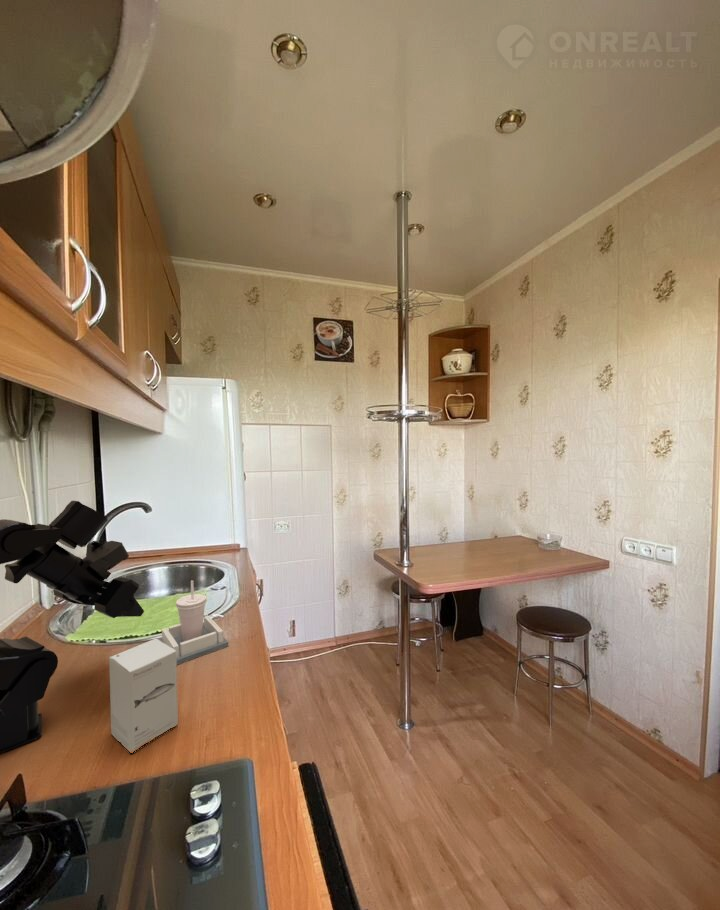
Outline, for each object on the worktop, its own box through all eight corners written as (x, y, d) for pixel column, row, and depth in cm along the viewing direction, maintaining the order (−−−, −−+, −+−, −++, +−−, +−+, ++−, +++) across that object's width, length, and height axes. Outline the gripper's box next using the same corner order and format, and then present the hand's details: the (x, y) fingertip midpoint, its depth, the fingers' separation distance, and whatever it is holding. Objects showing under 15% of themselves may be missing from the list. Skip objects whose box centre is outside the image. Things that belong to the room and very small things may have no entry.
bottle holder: (228, 646, 85) (228, 631, 85) (170, 667, 77) (170, 650, 77) (210, 626, 94) (210, 613, 94) (157, 643, 86) (157, 628, 86)
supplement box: (130, 757, 55) (127, 672, 55) (110, 734, 59) (107, 655, 59) (179, 726, 61) (177, 649, 61) (158, 707, 65) (156, 636, 65)
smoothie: (185, 652, 81) (183, 588, 81) (171, 642, 85) (170, 581, 85) (212, 639, 86) (211, 579, 85) (199, 631, 90) (197, 573, 90)
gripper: (126, 535, 65) (183, 579, 75) (71, 526, 74) (129, 565, 84) (75, 597, 58) (146, 635, 68) (21, 578, 67) (90, 614, 77)
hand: (128, 609), depth 74 cm, fingers open, 9 cm apart
